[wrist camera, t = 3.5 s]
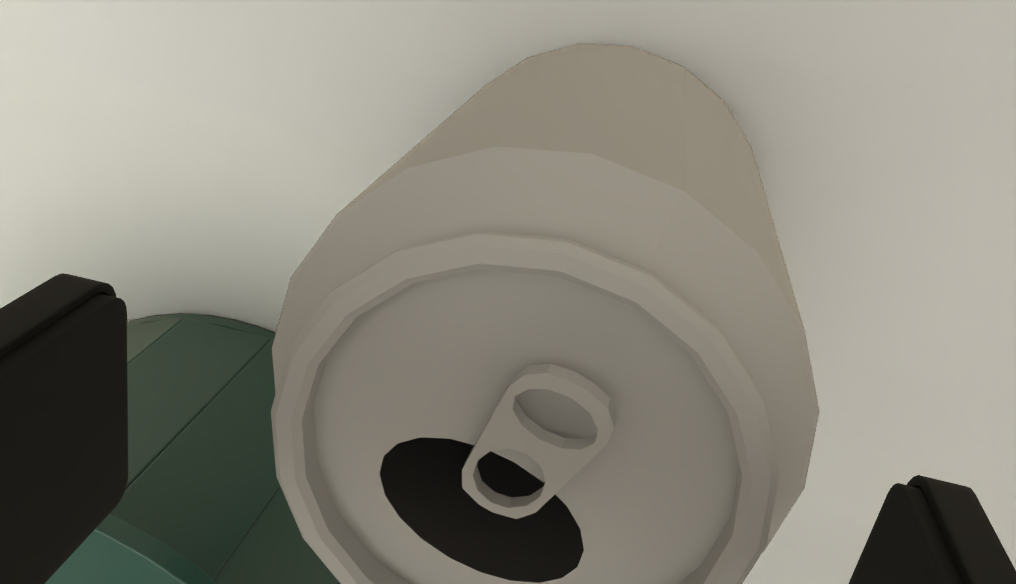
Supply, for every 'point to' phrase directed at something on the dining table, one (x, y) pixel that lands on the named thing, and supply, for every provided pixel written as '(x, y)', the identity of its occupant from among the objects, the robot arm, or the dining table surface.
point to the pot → (210, 451)
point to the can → (550, 345)
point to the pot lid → (126, 559)
